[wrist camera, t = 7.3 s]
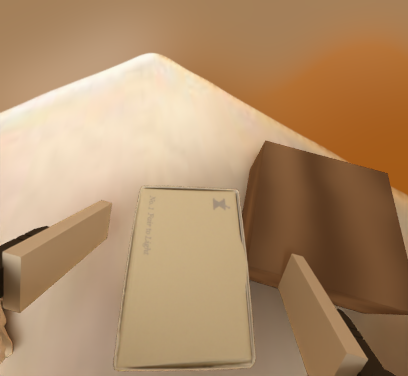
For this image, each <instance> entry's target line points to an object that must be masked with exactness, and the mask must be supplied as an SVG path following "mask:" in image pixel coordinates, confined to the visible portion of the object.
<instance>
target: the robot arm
mask: <svg viewBox="0 0 408 376" xmlns="http://www.w3.org/2000/svg"><path fill="white" fill-rule="evenodd" d="M111 207H112V203H110V202H106V201H103V200H101V201H99V202H97V203H95V204H93V205H91V206H89V207H87V208H85V209H84V210H82V211H80V212H78V213H76V214H74V215H72V216H70V217H68V218H66V219H64V220H62V221H60V222H59V223H57V224H55V225H53V226H51V227H48V226H44V227H41V228H37V229H34V230H32V231H30V232H28V233H25V235H21V236H19V237H17V238H16V239H13V240H11V241H9V242H7V243H5V244H3V245H1V246H0V298H2V297H3V308H4V309H8V310H11V311H14V312H17V313H21V312H22V311H23V310H24V309H25V308H26V307H28V306H29V305H30V304H31V303H32V302H33V301H35V300H36V299H37V298H38V297H39V296H40V295H42V294H43V293H44V292H45V291H46V290H47V289H48V288H50V287H51V286H52V285H53V284H54V283H55V282H57V281H58V280H59V279H60V278H61V277H62V276H64V275H65V274H66V273H67V272H68V271H69V270H71V269H72V268H73V267H74V266H75V265H76V264H77V263H79V262H80V261H81V260H82V259H83V258H84V257H86V256H87V255H88V254H89V253H90V252H91V251H93V250H94V249H95V248H96V247H97V246H98V245H100V244H101V243H102V242H103V241H104V240H105V239H106V238H107V235H108V228H109V221H110V214H111ZM278 289H279V292H280V295H281V297H282V300H283V303H284V306H285V309H286V312H287V315H288V318H289V321H290V324H291V327H292V330H293V333H294V336H295V339H296V342H297V345H298V347H299V350H300V353H301V356H302V359H303V362H304V365H305V368H306V371H307V374H308V376H395V375H394V374H392V373H391V372H389V371H387V370H384V368H383V367H382V365H381V364H380V362H379V361H378V359H377V358H376V357H375V355H374V354H373V352H372V351H371V349H370V348H369V346H368V345H367V343H366V342H365V340H363V337H362V336H361V334H360V333H359V331H357V328H356V327H355V325H354V324H353V322H352V321H351V319H350V318H349V317H348V316H347V315H346V314H345V313H344V312H343V311H341V310H339V309H336V308H335V306H334V305H333V303H332V301H331V300H330V298H329V297H328V295H327V294H326V292H325V290H324V289H323V287H322V286H321V284H320V282H319V281H318V279H317V278H316V276H315V275H314V273H313V271H312V270H311V268H310V267H309V265H308V263H307V262H306V260H305V259H304V257H303V256H299V255H296V254H291V257H290V259H289V262H288V264H287V266H286V269H285V271H284V274H283V276H282V278H281V281H280V283H279V286H278Z"/></svg>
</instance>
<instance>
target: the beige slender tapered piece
mask: <svg viewBox="0 0 408 376" xmlns="http://www.w3.org/2000/svg"><path fill="white" fill-rule="evenodd" d="M0 300H1V301H2V298H0ZM1 301H0V364H1V363H2V362H3V360H4V359H5V357H6V358H8V357H9V356H8V355H9V354H11V353H12V354H13V350H12V348H13V343H12V341H11V340H10V338H9V337H8V335H7V332H6V330H5V327H4V326H5V324H6V317H5V315H4V312H3V310H2V307H1ZM2 304H3V301H2ZM12 354H11V355H12ZM7 356H8V357H7Z"/></svg>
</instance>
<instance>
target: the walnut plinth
mask: <svg viewBox="0 0 408 376" xmlns="http://www.w3.org/2000/svg"><path fill="white" fill-rule="evenodd" d="M242 220H243V229H244V236H245V246H246V254H247V262H248V272H249V280H251V281H255V282H258V283H262V284H265V285H268V286H272V287H275V288H278V286H279V283H280V281H281V278H282V276H283V274H284V271H285V269H286V266H287V264H288V262H289V259H290V257H291V254H296V255H299V256H303V257H304V259H305V260H306V262H307V263H308V265H309V267H310V268H311V270H312V271H313V273H314V275H315V276H316V278H317V279H318V281H319V282H320V284H321V286H322V287H323V289H324V290H325V292H326V294H327V295H328V297H329V298H330V300H331V301H332V303H333V304H334V305H337V306H341V307H344V308H347V309H351V310H354V311H358V312H361V313H370V314H395V315H408V259H407V254H406V250H405V246H404V242H403V237H402V233H401V229H400V225H399V220H398V216H397V212H396V208H395V203H394V199H393V195H392V191H391V186H390V182H389V178H388V174H387V173H384V172H381V171H377V170H373V169H369V168H366V167H362V166H358V165H355V164H351V163H347V162H343V161H340V160H336V159H332V158H328V157H325V156H321V155H317V154H313V153H310V152H306V151H302V150H299V149H295V148H291V147H287V146H284V145H280V144H276V143H272V142H269V141H265V142H264V144H263V146H262V148H261V150H260V152H259V154H258V156H257V158H256V159H255V161H254V163H253V165H252V167H251V169H250V174H249V179H248V185H247V191H246V196H245V202H244V208H243V213H242Z"/></svg>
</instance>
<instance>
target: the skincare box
mask: <svg viewBox="0 0 408 376" xmlns="http://www.w3.org/2000/svg"><path fill="white" fill-rule="evenodd" d="M255 361H256V354H255V341H254V329H253V316H252V307H251V294H250V283H249V272H248V262H247V254H246V246H245V236H244V229H243V220H242V212H241V205H240V195H239V191H238V190H237V189H221V188H203V187H181V186H143V187H141V189H140V192H139V197H138V201H137V207H136V211H135V217H134V223H133V228H132V234H131V240H130V246H129V252H128V259H127V266H126V273H125V279H124V286H123V294H122V300H121V307H120V315H119V323H118V330H117V336H116V346H115V355H114V363H113V367H114V369H115V370H117V371H181V370H223V369H244V368H251V367H252V366H253V365H254V363H255Z"/></svg>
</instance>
